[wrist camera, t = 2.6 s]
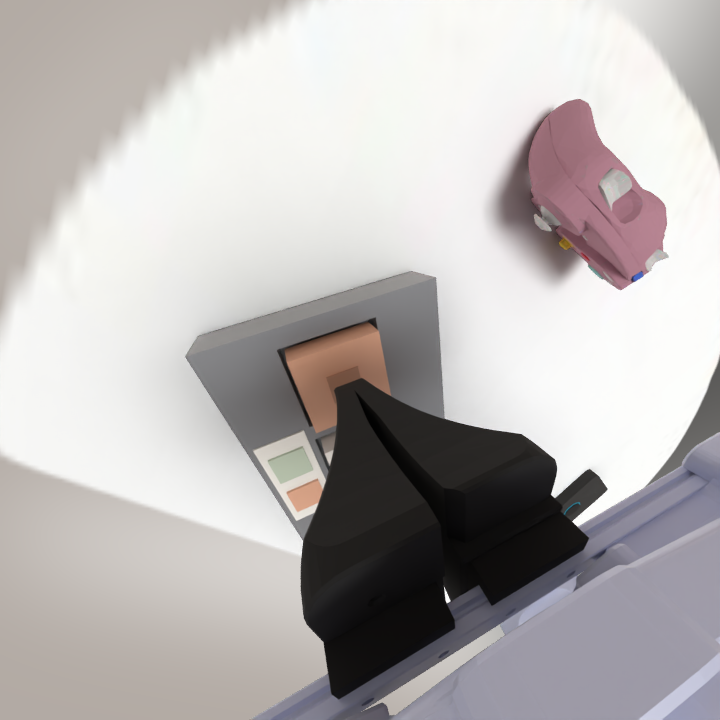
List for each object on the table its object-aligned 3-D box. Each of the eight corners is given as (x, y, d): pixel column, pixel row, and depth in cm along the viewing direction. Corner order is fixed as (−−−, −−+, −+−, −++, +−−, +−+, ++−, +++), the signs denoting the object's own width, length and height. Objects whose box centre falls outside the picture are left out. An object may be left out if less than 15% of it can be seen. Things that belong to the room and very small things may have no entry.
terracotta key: (381, 388, 15) (392, 403, 14) (311, 415, 15) (316, 434, 13) (367, 321, 13) (379, 331, 12) (284, 349, 12) (286, 363, 11)
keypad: (432, 473, 24) (450, 499, 22) (312, 530, 22) (317, 565, 20) (411, 271, 15) (439, 278, 13) (198, 336, 13) (183, 359, 10)
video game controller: (483, 176, 16) (545, 224, 11) (560, 86, 13) (686, 100, 8) (558, 259, 20) (624, 316, 16) (626, 205, 18) (730, 256, 13)
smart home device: (609, 490, 39) (513, 574, 42) (597, 481, 41) (505, 562, 43) (598, 475, 35) (492, 569, 37) (585, 465, 36) (483, 556, 39)
